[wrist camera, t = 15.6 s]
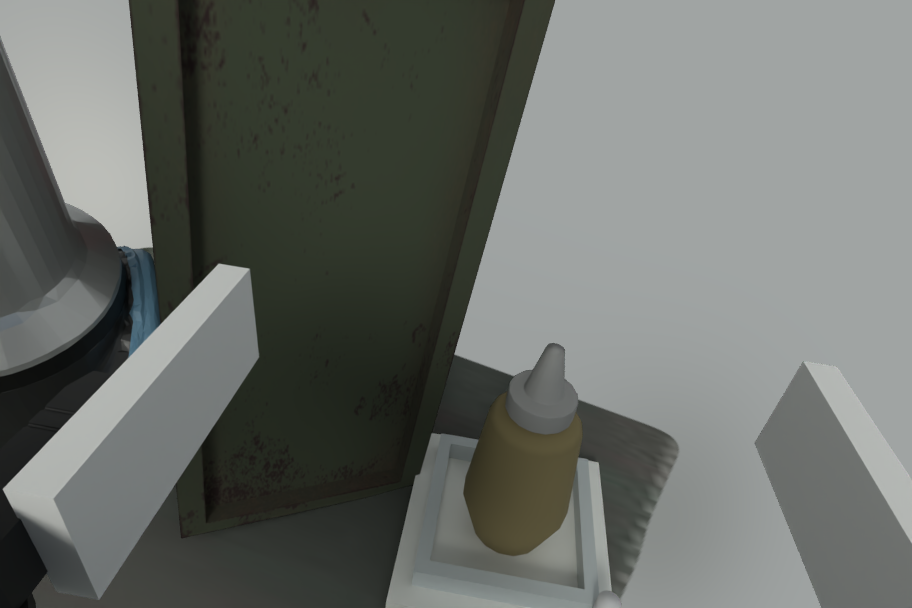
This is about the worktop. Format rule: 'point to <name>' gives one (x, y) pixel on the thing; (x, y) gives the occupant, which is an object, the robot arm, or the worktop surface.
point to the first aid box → (328, 220)
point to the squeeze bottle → (526, 459)
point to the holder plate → (482, 569)
